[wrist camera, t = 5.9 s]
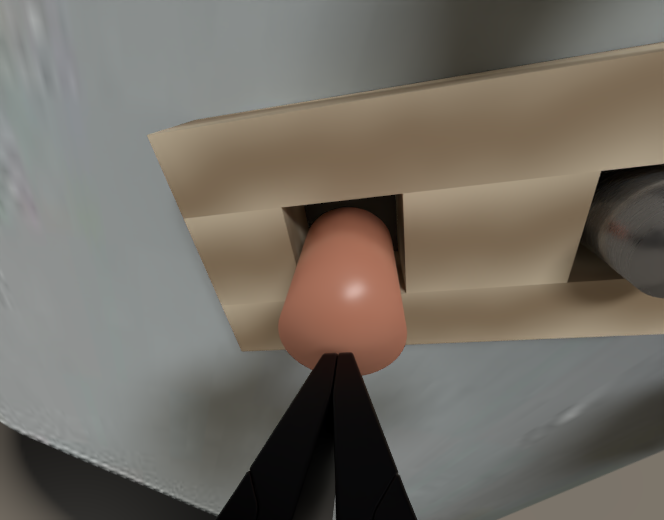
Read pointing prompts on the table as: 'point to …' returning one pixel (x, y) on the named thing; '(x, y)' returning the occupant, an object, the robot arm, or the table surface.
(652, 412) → the table surface
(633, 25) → the table surface
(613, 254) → the grey button
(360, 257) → the red button
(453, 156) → the button panel
